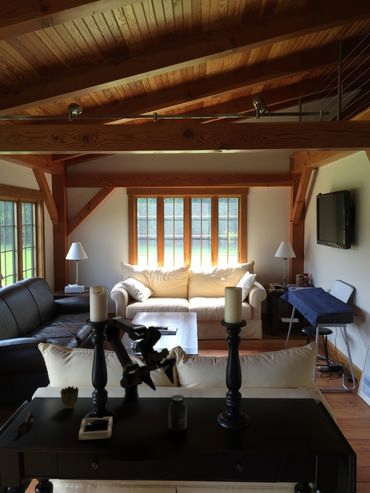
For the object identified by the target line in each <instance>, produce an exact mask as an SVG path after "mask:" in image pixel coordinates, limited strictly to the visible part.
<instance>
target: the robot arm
mask: <svg viewBox="0 0 370 493" xmlns="http://www.w3.org/2000/svg"><path fill="white" fill-rule="evenodd" d="M110 319H111V324H109V325H108V326H107V328H106V337H107V340H105V341H106V342H108V343H109V344H110V346H111V347H112V349H113V352H114V354H115V355H116V358H117V360H118V362H119V365H120V366H121V368H122V373H121V376H122V378H121V379H120V380H119V384H120V387H121V388H123V389H124V397H123V402H124V403H131V402H132V403H133V402H139V401H140V395H139V389H138V387H139V386H140V385H142V384H143V383H144V385H147V386H148V387H149V388H150V389H151V390H153V391H154V392H156V391H157V387H156V385H155V383H154V381H153V379H152V377H151V372H153V371H156V370H159V369H162V370H163V373H164V374H165V376H166V377H167V378H168V380H169V382H170V383H171V384H172V385H174V384H175V377H174V366H176V363H177V362H178V361H177V359H176V358H175V357H174V356H171V357H168V356H170V350H169V349H168V347H164V348H161V350H160V351H158V350H157V349H155V348H154V347H155V346H156V344H158V342H159V341H160V340H161V339H162V332H161V331H160V330H159V329H158V328H157V327H156V328H155V327H154V325H151V326H148V327H147V326H146V325H143V324H137V323H132V322H130V321H129V320H126V319H125V318H123V317H122V316H119V315H118V316H114V317H111V318H110ZM121 331H122V332H123V333H126V334H127V336H128V338H129V339H130V340H132V342H136V341H138V342H136V345H135V347H134V348H135V350H138V351H139V353H140V355H141V356H142V357H141V361H142V362H144V363H145V364H144V365H140V364H139V363H138V362H136V363H134V362H133V360H132V359H131V357H130V355H129V353H128V351H127V349H126V347H125V346H124V343H123V342H122V340H121V338H120V336H121V334H120V333H121ZM164 359H165V360H164Z"/></svg>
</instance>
